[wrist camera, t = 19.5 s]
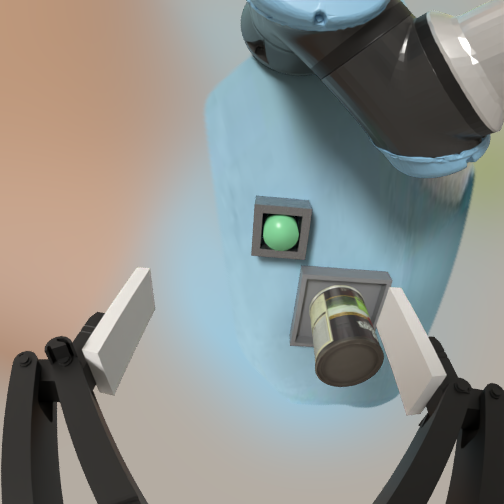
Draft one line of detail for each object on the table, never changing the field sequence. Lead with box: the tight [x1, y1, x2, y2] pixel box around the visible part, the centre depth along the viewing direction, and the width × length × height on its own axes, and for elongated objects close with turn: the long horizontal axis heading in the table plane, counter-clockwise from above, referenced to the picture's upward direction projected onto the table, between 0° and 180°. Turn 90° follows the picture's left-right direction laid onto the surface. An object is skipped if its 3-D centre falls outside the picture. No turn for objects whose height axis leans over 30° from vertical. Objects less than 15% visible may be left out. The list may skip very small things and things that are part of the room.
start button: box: [263, 213, 299, 251], centre depth 46 cm, size 5×5×4 cm
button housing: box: [251, 196, 312, 260], centre depth 47 cm, size 8×8×4 cm
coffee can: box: [309, 285, 384, 387], centre depth 48 cm, size 10×10×14 cm
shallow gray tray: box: [290, 265, 392, 347], centre depth 54 cm, size 16×16×3 cm
